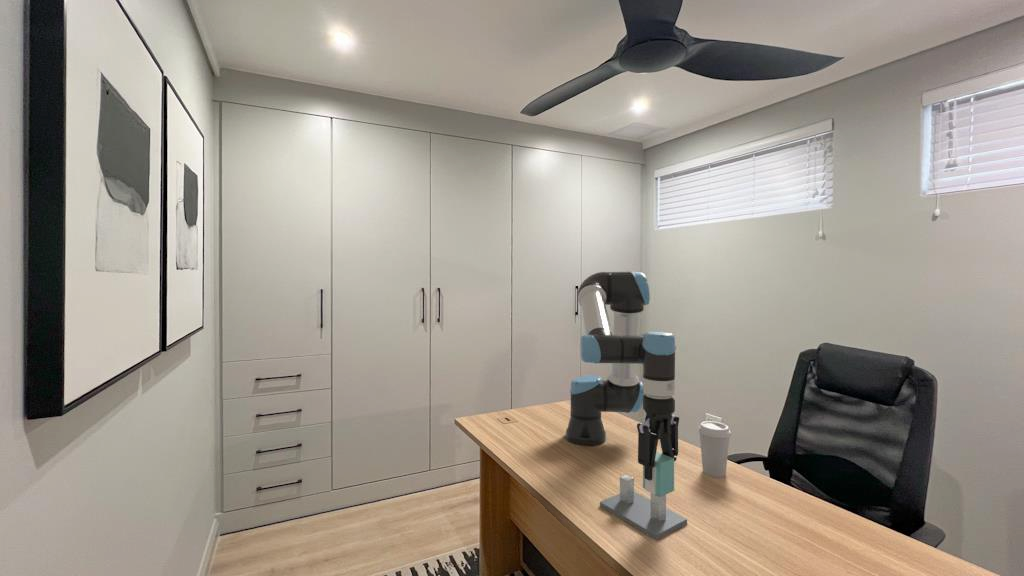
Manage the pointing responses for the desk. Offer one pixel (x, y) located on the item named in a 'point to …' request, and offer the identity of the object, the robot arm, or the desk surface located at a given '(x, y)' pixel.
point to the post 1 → (627, 489)
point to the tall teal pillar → (663, 474)
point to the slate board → (643, 516)
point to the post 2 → (658, 508)
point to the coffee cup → (714, 447)
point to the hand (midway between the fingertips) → (658, 488)
